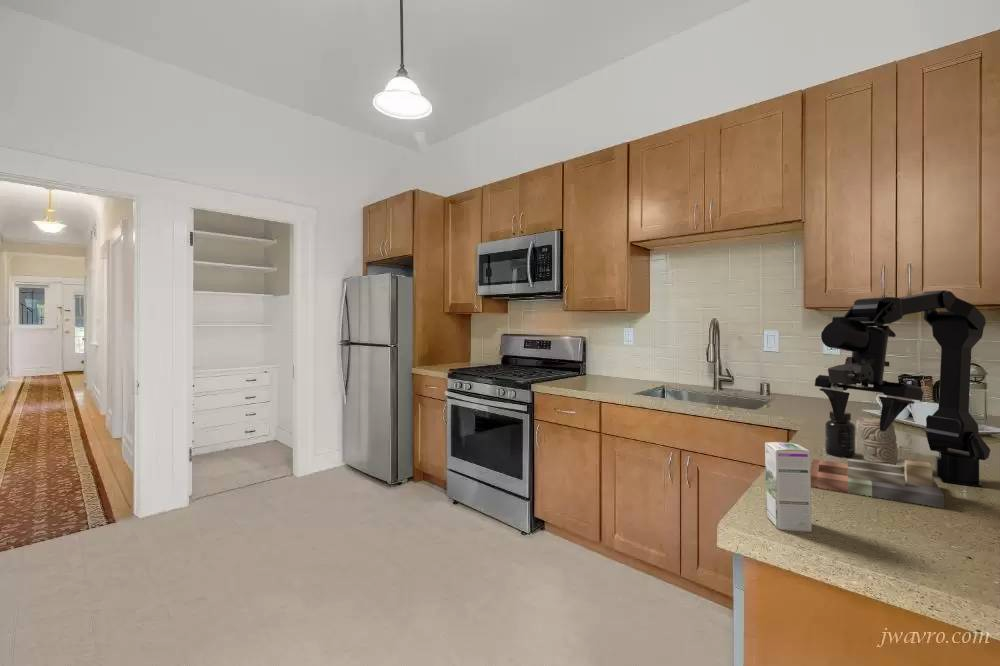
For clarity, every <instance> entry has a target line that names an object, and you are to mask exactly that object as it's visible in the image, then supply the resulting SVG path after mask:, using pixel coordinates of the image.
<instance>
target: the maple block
mask: <svg viewBox="0 0 1000 666" xmlns="http://www.w3.org/2000/svg"><path fill="white" fill-rule="evenodd" d="M904 471H905V480H906V482H907V483H911V484H918V485H925V486H932V477H933V466H932V464H931V463H930V462H925V461H919V460H918V461H915V460H911V459H910V460H907V459H904Z"/></svg>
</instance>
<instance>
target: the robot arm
mask: <svg viewBox="0 0 1000 666" xmlns="http://www.w3.org/2000/svg"><path fill="white" fill-rule="evenodd" d="M938 309H942V310H939V311H937V310H938ZM943 309H944V310H943ZM921 312H923V313H924V315H923V319H924V321H925V322H926V323H928V324H929V326H930V327H931V330H932V331H931V332H932V337H933V338H934V340H935V341H936V342H937V344H938V345H939V347H940V351H941V352H940V367H939V391H938V409H937V410H936V411H935V412H933V413H932V415H927V416H926V418H925V421H926V423H925V424H926V425H925V430H924V433H925V436H926V439H927V442H928V446H929V451H932V452H937V453H938V456H936V457H935V475H936V476H937V477H938V478H939V480H940V481H941V482H944V483H951V484H958V485H964V486H973V487H980V488H981V487H982V483H981V482H980V461H986V460H987V459H989V458H990V457H989V456H990V453H991V448H990V447H989V446H988V445H987V443H986V442H985V441H984V439H983V438H982V437H981V436H980V434H979V424H978V423H977V421H976V420H975V419H974V417H973V416H972V415H971V413H970V411H969V409H970V408H969V407H970V392H971V391H970V388H971V387H970V386H971V385H970V384H971V365H972V350H973V348H974V347H975V345H976V344H978V342H979V341H980V340H981V339H982V338H983V335H984V334H983V333H984V329H985V326H986V323H987V320H986V317H985V315H984V314H983V313H982V312H981V311H980V310H979V308H977V306H975V305H974V304H972V303H970V302H967V301H965V300H963V299H961V298H958V297H957V296H956V295H955V294H954V293H953V292H951V291H950V290H945V289H944V290H943V289H942V290H931V291H925V292H921V293H918V294H913V295H912V294H911V295H907V296H906V295H905V296H901V297H895V296H885V297H884V296H883V297H870V298H869V297H868V298H859V299H856V300H855V301H854V302H853V305H852V306H851V307H850V308H849V309H848V311H847V312H846V313H845V314H844V316H833V317H832V319H831V322H830V323H828V324H827V325H825V327H824V328H823V330H822V331H821V335H820V336H821V337H820V338H821V341H822V343H823V345H824V346H826V347H828V348H831V349H835V350H842V351H847V352H851V356H846V359H845V363H843V364H838V365H834V366H830V367H827V373H828V375H823V374H819V375H818V376H816V378H815V380H814V387H819V388H818V389H819V391H821V392H822V393H824V394H825V395H826V396H827V397H828V400H829V402H830V405H831V408H832V411H833V413H834V416H835V420H836V422H841V421H842V419H843V416H844V413H845V412H846V408H847V405H848V400H849V397H850V392H846V391H847V390H856V391H863V392H873V393H878V394H879V393H881V394H883V395H884V396H881V395H879V397H878V398H879V400H880V402H881V411H880V417H879V419H880V431H886V430H887V428H888V427H889V426H890V425H891V423H893V422H894V421H895V420H896V419H897V417H898V416H899V414H901V413H902V412H903V411H904V410H905V409H906V408H907V407H908V406H909V405H911V404H912V405H913V404H914V405H915V401H923V398H924V397H923V396H924V391H923V389H922V388H921V386H919V385H914V384H908V383H903V382H901V383H900V382H891V381H887V380H884V373H885V367H886V368H887V367H889V368H890V362H889V361H886V356H887V349H888V341H889V338H896V336H897V335H896V333H895V332H894V331H893V330H892V329H891V328H890V327H889V325H890V324H893V323H895V322H897V321H900V320H902V319H903V317H904V316H906V315H910V314H911V315H912V314H915V313H921ZM887 324H888V325H887ZM869 385H870V386H869ZM914 400H915V401H914Z"/></svg>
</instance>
